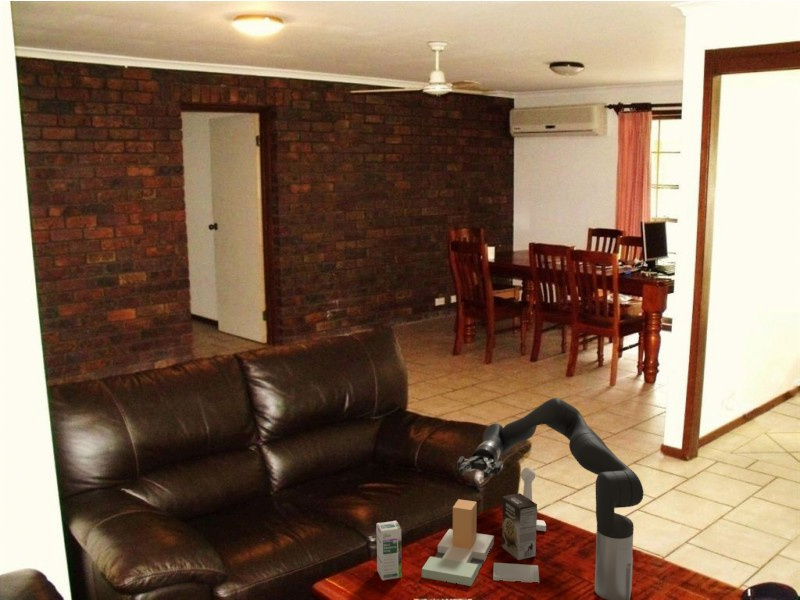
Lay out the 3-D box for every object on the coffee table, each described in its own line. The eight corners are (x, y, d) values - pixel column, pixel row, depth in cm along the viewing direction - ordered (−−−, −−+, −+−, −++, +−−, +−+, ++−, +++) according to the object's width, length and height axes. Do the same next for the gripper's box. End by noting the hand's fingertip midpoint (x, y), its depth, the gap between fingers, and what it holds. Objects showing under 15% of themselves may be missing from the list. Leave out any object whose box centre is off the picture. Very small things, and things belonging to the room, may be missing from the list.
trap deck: (493, 543, 233) (493, 535, 232) (471, 586, 209) (471, 577, 208) (449, 536, 238) (449, 528, 237) (421, 577, 213) (421, 568, 213)
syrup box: (381, 581, 212) (381, 531, 209) (376, 570, 217) (376, 521, 215) (402, 578, 213) (401, 528, 211) (396, 567, 219) (396, 519, 216)
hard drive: (493, 576, 212) (539, 579, 210) (493, 561, 220) (538, 564, 218) (493, 582, 212) (539, 584, 210) (493, 567, 220) (538, 569, 218)
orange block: (476, 540, 230) (476, 501, 228) (471, 549, 224) (471, 509, 222) (458, 537, 232) (458, 499, 230) (452, 546, 226) (452, 507, 224)
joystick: (543, 525, 244) (544, 465, 241) (548, 536, 237) (549, 474, 234) (508, 526, 244) (509, 465, 241) (511, 537, 237) (512, 474, 234)
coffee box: (500, 547, 230) (501, 495, 228) (519, 543, 233) (520, 492, 231) (517, 560, 222) (518, 507, 220) (536, 556, 225) (537, 503, 222)
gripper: (465, 441, 251) (450, 459, 236) (508, 446, 246) (496, 465, 231) (464, 463, 252) (450, 482, 237) (508, 469, 248) (496, 489, 232)
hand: (473, 474), depth 234 cm, fingers open, 6 cm apart
